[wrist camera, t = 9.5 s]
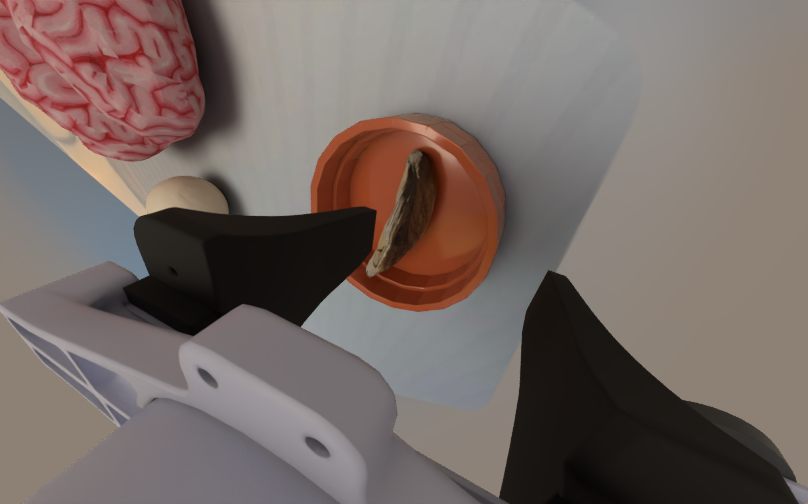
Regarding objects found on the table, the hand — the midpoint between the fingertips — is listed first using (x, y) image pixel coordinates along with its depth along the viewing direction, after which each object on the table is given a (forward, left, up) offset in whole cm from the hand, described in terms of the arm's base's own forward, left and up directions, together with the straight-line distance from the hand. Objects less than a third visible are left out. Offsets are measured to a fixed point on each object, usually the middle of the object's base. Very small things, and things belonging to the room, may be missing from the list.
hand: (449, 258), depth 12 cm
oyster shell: (+6, +3, -10) cm, 12 cm away
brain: (+33, -4, -11) cm, 35 cm away
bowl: (+5, +3, -10) cm, 12 cm away
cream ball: (+28, +10, -11) cm, 32 cm away
